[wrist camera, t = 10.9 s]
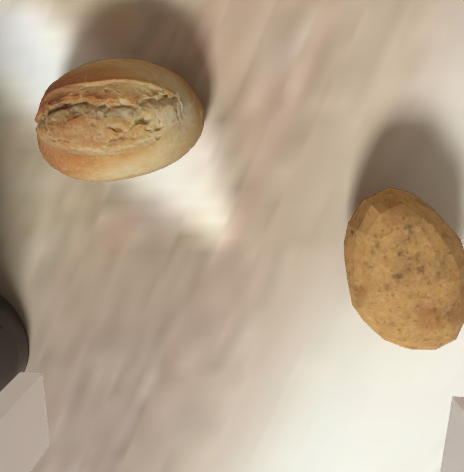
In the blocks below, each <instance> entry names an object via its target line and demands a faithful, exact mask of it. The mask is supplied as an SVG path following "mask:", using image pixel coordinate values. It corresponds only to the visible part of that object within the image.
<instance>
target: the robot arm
mask: <svg viewBox="0 0 464 472" xmlns="http://www.w3.org/2000/svg"><path fill="white" fill-rule="evenodd" d="M27 360H28V342H27V337H26V333H25V330H24V327H23V325H22V323H21V321H20V319H19V317H18V315H17V314H16V312H15V311H14V309H13V308H12V307H11V306H10V304H9V303H8V302H7V301H6V300H5V299H4V298H3V297H2V296H1V295H0V472H31V471H32V470H33V469H34V467H35V466H36V464H37V463H38V461H39V460H40V458H41V457H42V455H43V454H44V452H45V451H46V449H47V448H48V447H49V445H50V442H49V432H48V422H47V411H46V401H45V391H44V380H43V373H28V372H24V371H25V368H26V365H27ZM441 472H464V397H452V403H451V410H450V416H449V422H448V428H447V434H446V440H445V446H444V452H443V459H442V465H441Z"/></svg>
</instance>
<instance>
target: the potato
mask: <svg viewBox="0 0 464 472" xmlns="http://www.w3.org/2000/svg"><path fill="white" fill-rule="evenodd" d="M344 256H345V266H346V273H347V279H348V284H349V290H350V295H351V300H352V305H353V306H354V308H355V309H356V310H357V312H358V313H359V315H360V316H361V318H362V319H363V320H364V321H365V322H366V323H367V324H368V325H369V326H370V327H371V328H372V329H373V330H374V331H375V332H376V333H377V334H378V335H380V336H381V337H382V338H383V339H384V340H386V341H389V342H392V343H394V344H397V345H399V346H402V347H405V348H409V349H426V350H436V349H438V348H440V347H442V346H444V345H446V344H448V343H450V342H452V341H454V340H456V338H457V336H458V334H459V332H460V330H461V328H462V325H463V323H464V249H463V246H462V243H461V241H460V238H459V237H458V236H457V235H456V234H455V233H454V232H453V230H452V229H451V228H450V227H449V226H448V225H447V224H446V223H445V221H444V220H443V219H442V218H441V217H440V216H439V215H438V214H437V213H436V212H435V210H434V209H432V208H431V207H430V206H429V205H427V204H426V203H425V202H423V201H422V200H421V199H419V198H418V197H416V196H415V195H414V194H412V193H409V192H405V191H402V190H398V189H394V188H390V187H389V188H387V189H385V190H383V191H381V192H379V193H377V194H375V195H373V196H371V197H369V198H367V199H365V200H364V201H362V203H361V204H360V206H359V207H358V209H357V210H356V212H355V213H354V215H353V216H352V218H351V220H350V221H349V223H348V226H347V231H346V236H345V240H344Z"/></svg>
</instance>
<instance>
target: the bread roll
mask: <svg viewBox="0 0 464 472" xmlns="http://www.w3.org/2000/svg"><path fill="white" fill-rule="evenodd" d="M35 121H36V122H37V123H38V126H37V128H36V131H37V137H38V145H39V148H40V151H41V153H42V155H43V157H44V159H45V160H46V161H47V162H48V163H49V164H50V165H51V166H52V167H53V168H55V169H57V170H59V171H60V172H62V173H63V174H65V175H67V176H69V177H72V178H75V179H79V180H85V181H116V180H122V179H128V178H133V177H137V176H141V175H145V174H148V173H151V172H154V171H157V170H159V169H161V168H164V167H166V166H168V165H170V164H172V163H174V162H176V161H177V160H179V159H180V158H181V157H183V156H184V155H185V154H186V153H187V152H188V151H189V150H190V149H191V148H192V147H193V146H194V145H195V144H196V142H197V140H198V139H199V137H200V136H201V133H202V130H203V125H204V108H203V105H202V103H201V101H200V99H199V97H198V96H197V94H196V93H195V92H194V90H193V89H192V87H191V86H190V85H189V83H187V82H186V81H185V80H184V79H183V78H182V77H181V76H179V75H178V74H176V73H174V72H173V71H171V70H170V69H168V68H165V67H161V66H159V65H156V64H153V63H150V62H147V61H144V60H138V59H106V60H99V61H94V62H90V63H87V64H84V65H82V66H80V67H78V68H76V69H74V70H72V71H70V72H68V73H66V74H64V75H63V76H62V77H61V78H59V79H58V80H56V81H55V82H53V83H52V84H51V85H50V86H49V87H48V89H47V90H46V92H45V94H44V96H43V98H42V100H41V103H40V106H39V110H38V113H37V115H36V117H35Z"/></svg>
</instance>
